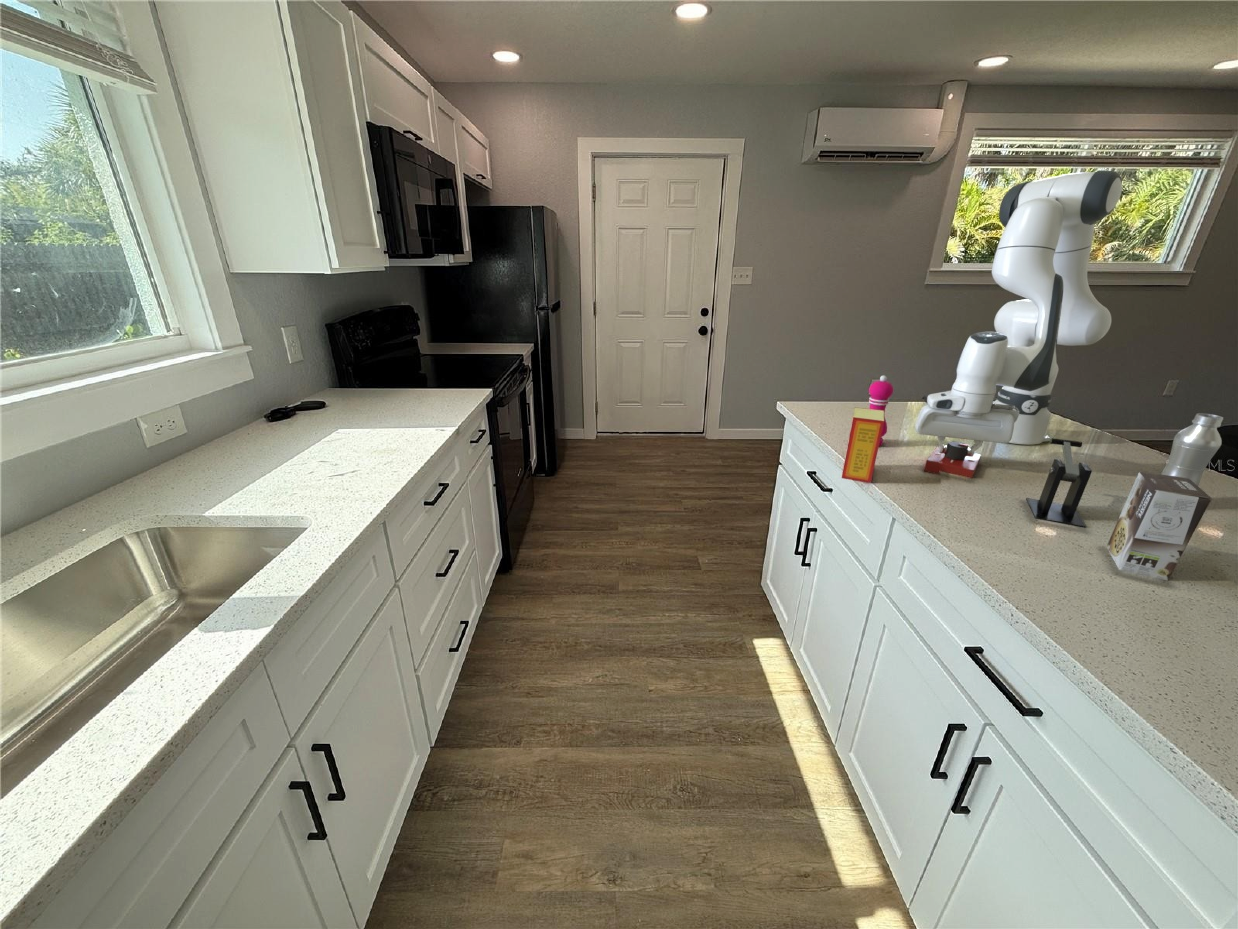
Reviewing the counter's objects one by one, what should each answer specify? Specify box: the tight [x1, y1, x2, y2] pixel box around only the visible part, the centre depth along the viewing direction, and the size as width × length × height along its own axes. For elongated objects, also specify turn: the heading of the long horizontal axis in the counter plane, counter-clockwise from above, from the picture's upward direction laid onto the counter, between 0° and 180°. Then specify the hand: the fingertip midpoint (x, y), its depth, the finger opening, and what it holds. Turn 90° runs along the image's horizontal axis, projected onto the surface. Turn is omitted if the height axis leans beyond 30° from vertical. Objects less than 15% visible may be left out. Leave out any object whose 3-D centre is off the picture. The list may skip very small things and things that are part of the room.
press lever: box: [1049, 437, 1083, 483], centre depth 101 cm, size 11×5×2 cm, turn 151°
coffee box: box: [1106, 471, 1213, 582], centre depth 83 cm, size 9×6×16 cm
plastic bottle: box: [1160, 412, 1224, 487], centre depth 104 cm, size 6×7×20 cm
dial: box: [944, 440, 970, 460], centre depth 124 cm, size 4×4×4 cm
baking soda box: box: [841, 407, 884, 484], centre depth 120 cm, size 10×6×16 cm
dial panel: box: [923, 445, 982, 479], centre depth 125 cm, size 13×10×3 cm
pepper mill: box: [868, 374, 894, 447], centre depth 139 cm, size 7×7×20 cm
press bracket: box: [1025, 458, 1093, 529], centre depth 100 cm, size 10×8×12 cm
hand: (955, 454), depth 125 cm, fingers closed on dial, 4 cm apart
